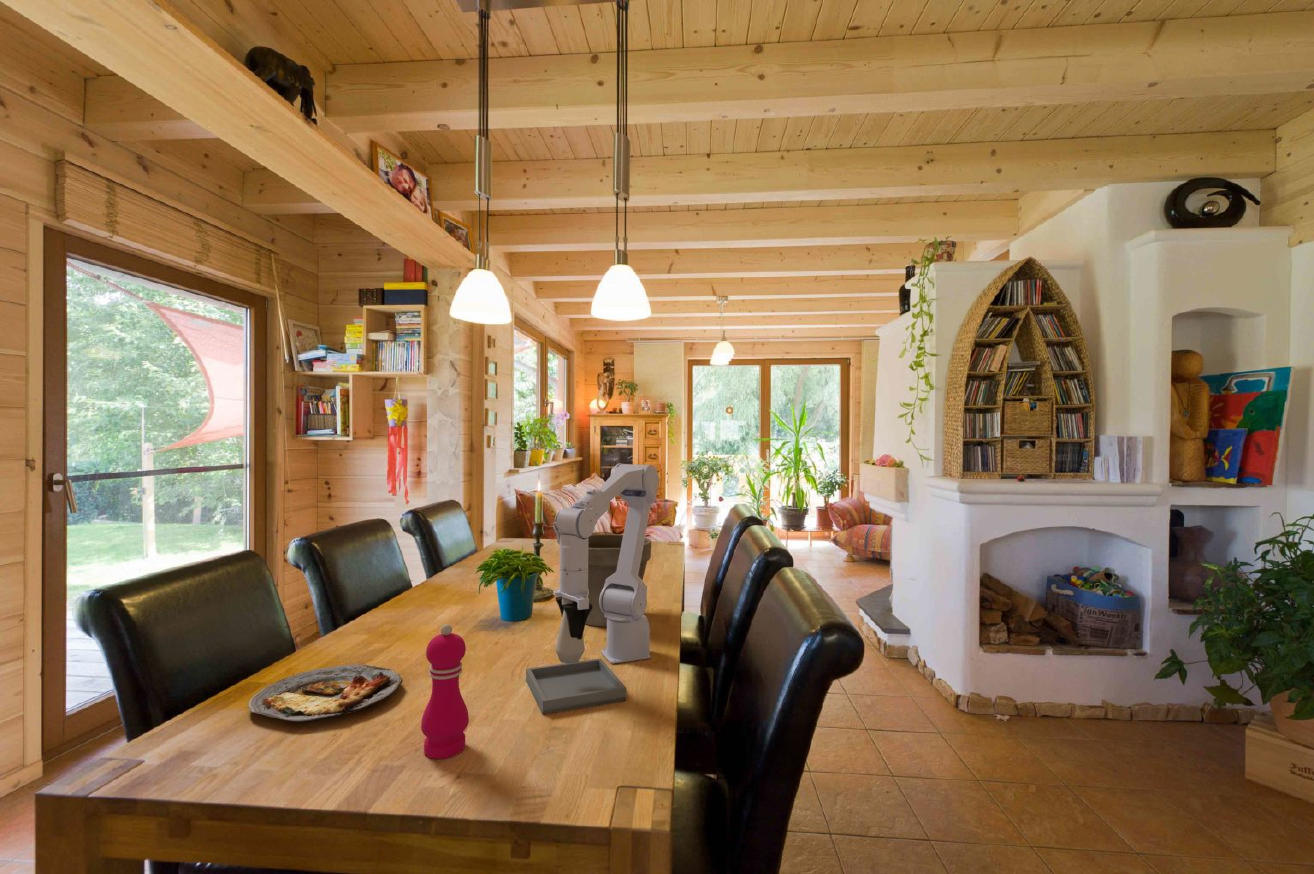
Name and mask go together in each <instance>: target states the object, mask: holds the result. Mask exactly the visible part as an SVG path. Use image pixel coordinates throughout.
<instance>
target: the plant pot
mask: <svg viewBox="0 0 1314 874" xmlns="http://www.w3.org/2000/svg"><path fill="white" fill-rule="evenodd" d="M622 539H623V534H618V533H617V534H616V533H614V534H613V533H610V534H609V533H608V534H607V533H602V534H601V533H600V534H594V533H593V534H592V535H591V536H589V538H588V589H589V595H588V599H589V603H590V604H592V605H593V607H592V610H591V612H590V613H589V615H588V618H587V620H586V624H585V625H589V626H594V627H607V617H604V612H602V611H601V609H600V605H599V597H600V594H601V592H602V590H603V588H604V585H605V580H606V579H607V578H608V577H610V576H611V575H613V574H614V573H616V571H617V565H618V560H619V555H620V550H621V545H622ZM651 556H652V540H651V539H650V538H647V537H645V540H644V546H643V551H642V557H641V562H640V568H639V573H638V576H639V577H640V578H641V580H642V581H644V576H645V573H646V568H647V564H648V561H650V559H651ZM619 587H620V588H627V589H633V588H632V587H626V586H619ZM633 590H634V589H633Z"/></svg>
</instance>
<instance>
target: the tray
mask: <svg viewBox="0 0 1314 874" xmlns="http://www.w3.org/2000/svg"><path fill="white" fill-rule="evenodd" d="M525 682H526V684H527V686H528V687H529V691H530V692H531V694H532V697H533V698H534V700H535V702H536V704H537V706H538V709H539V710H540V713H541V715H542V716H543V715H544V716H545V715H549V714H550V715H551V714H556V713H561V712H568V711H574V710H580V709H585V708H591V707H593V708H594V707H599V706H604V705H610V704H615V703H621V702H626V701H627V687H626V686H625V684H624V683H623V682H622V681H621V679H620V678H619V677H618V676H617V675H616V674H615V673H614V672H613V670H612V669H611V668H610V667H609V666H608V665H607V663H606V662H605V661H604V659H602V658H601V657H600V658H595V659H588V660H579V662H577V663H571V664H569V663H558V664H550V665H543V666H536V667H530V668H529V667H528V668H526V669H525Z"/></svg>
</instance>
